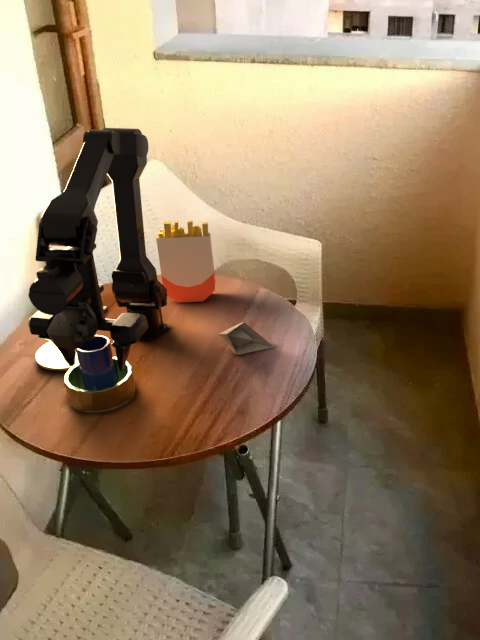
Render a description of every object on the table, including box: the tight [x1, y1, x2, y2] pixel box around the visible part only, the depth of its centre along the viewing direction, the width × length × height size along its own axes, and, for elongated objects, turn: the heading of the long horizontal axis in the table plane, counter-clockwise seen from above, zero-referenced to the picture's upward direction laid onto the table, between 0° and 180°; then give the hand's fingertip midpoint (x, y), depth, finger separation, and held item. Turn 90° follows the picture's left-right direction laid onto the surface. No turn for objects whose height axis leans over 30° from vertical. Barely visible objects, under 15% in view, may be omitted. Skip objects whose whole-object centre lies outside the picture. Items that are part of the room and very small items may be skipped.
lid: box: [35, 341, 79, 372], centre depth 137 cm, size 12×12×5 cm
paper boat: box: [218, 321, 274, 356], centre depth 137 cm, size 12×6×9 cm
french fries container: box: [155, 220, 216, 303], centre depth 153 cm, size 5×11×18 cm, turn 95°
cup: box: [76, 334, 118, 390], centre depth 124 cm, size 6×6×10 cm
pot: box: [63, 356, 136, 415], centre depth 126 cm, size 11×11×4 cm
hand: (97, 367), depth 124 cm, fingers open, 9 cm apart
